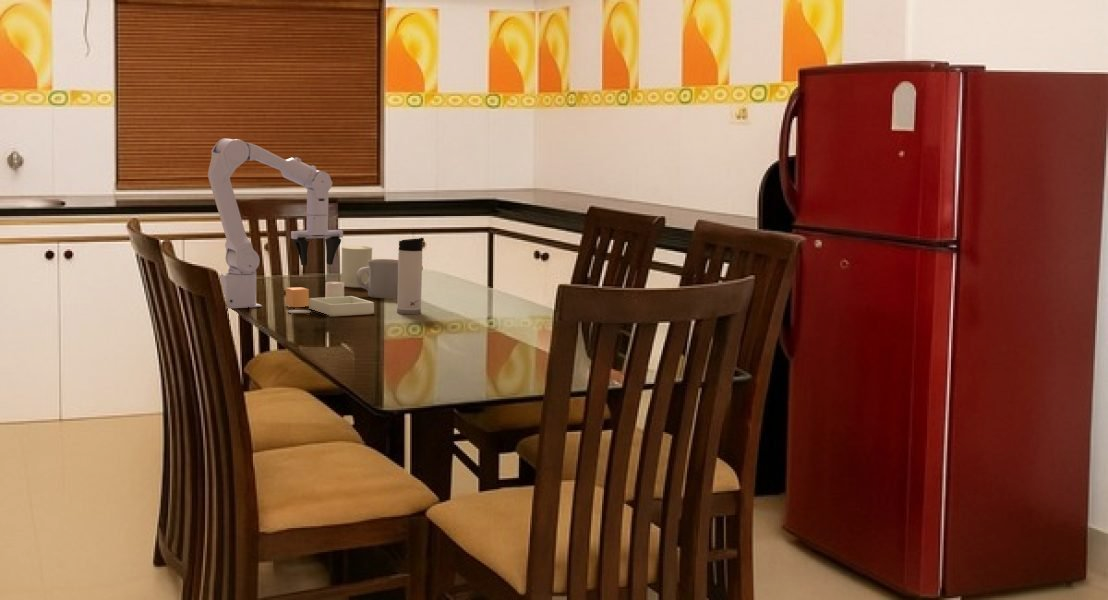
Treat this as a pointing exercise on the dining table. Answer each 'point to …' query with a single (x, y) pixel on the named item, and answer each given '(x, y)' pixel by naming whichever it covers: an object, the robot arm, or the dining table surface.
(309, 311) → the grey flat disc
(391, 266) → the coffee mug
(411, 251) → the travel mug
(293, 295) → the block
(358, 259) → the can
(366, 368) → the dining table surface
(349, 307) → the tray
